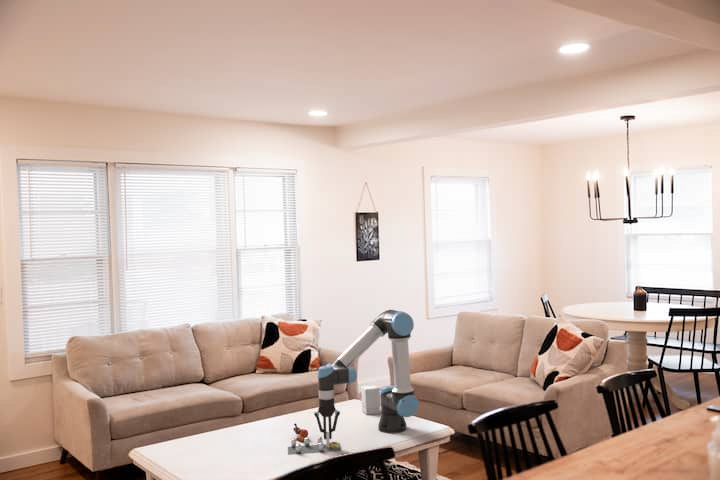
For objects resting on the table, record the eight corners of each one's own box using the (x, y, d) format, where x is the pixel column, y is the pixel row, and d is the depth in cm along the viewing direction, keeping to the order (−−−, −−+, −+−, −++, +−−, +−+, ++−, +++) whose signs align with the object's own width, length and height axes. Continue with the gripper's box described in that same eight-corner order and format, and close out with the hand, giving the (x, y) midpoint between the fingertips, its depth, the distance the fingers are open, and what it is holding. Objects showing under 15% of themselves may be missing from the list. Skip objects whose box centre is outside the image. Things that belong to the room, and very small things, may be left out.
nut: (339, 446, 328) (339, 441, 328) (338, 449, 324) (337, 444, 324) (330, 446, 328) (330, 441, 328) (328, 449, 324) (328, 444, 324)
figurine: (304, 433, 353) (315, 437, 340) (294, 444, 350) (305, 450, 337) (291, 420, 350) (302, 424, 337) (281, 432, 347) (292, 437, 334)
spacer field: (322, 444, 332) (322, 436, 332) (323, 452, 320) (323, 443, 320) (291, 446, 330) (291, 438, 330) (291, 454, 318) (291, 445, 318)
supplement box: (380, 413, 387) (380, 388, 387) (366, 415, 384) (365, 389, 384) (376, 409, 396) (375, 384, 395) (361, 411, 393) (360, 386, 393)
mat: (339, 444, 333) (339, 443, 333) (341, 452, 321) (341, 450, 321) (287, 447, 330) (287, 446, 330) (287, 455, 318) (287, 454, 318)
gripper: (339, 395, 330) (340, 442, 331) (312, 396, 329) (314, 444, 329) (340, 399, 323) (341, 447, 323) (313, 400, 321) (315, 449, 322)
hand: (328, 445), depth 326 cm, fingers closed
